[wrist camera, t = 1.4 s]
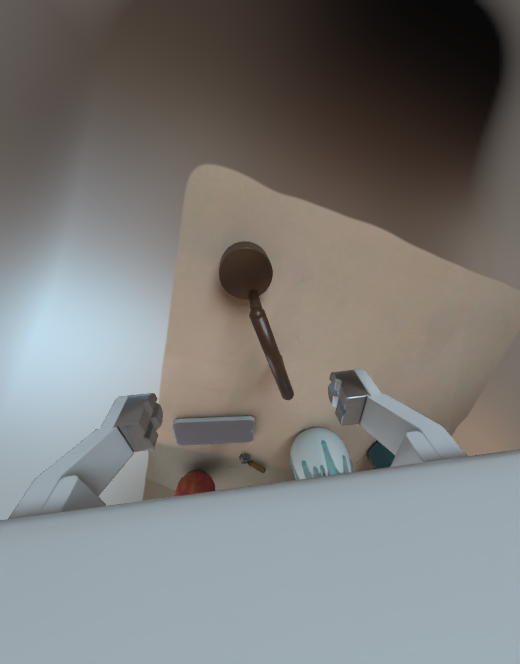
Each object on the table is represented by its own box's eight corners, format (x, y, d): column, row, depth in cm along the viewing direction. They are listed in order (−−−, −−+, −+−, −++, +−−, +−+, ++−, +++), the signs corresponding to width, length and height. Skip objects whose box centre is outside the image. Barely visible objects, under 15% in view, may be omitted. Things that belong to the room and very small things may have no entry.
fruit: (220, 475, 55) (218, 527, 47) (188, 482, 55) (180, 536, 47) (208, 458, 51) (203, 512, 42) (173, 466, 51) (161, 522, 43)
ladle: (212, 251, 27) (205, 277, 20) (260, 233, 27) (271, 253, 19) (261, 364, 37) (268, 409, 30) (296, 353, 37) (312, 395, 30)
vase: (286, 454, 53) (307, 562, 38) (286, 423, 47) (311, 538, 32) (335, 448, 54) (375, 551, 39) (342, 416, 47) (393, 525, 32)
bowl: (408, 420, 51) (427, 446, 46) (435, 441, 57) (455, 466, 52) (355, 451, 56) (368, 478, 51) (385, 467, 62) (399, 493, 57)
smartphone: (171, 422, 42) (255, 419, 43) (172, 418, 42) (254, 414, 44) (177, 446, 46) (253, 442, 47) (178, 441, 46) (253, 438, 48)
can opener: (265, 467, 55) (266, 472, 54) (257, 470, 55) (257, 475, 54) (243, 450, 50) (244, 456, 49) (235, 455, 51) (235, 460, 50)
